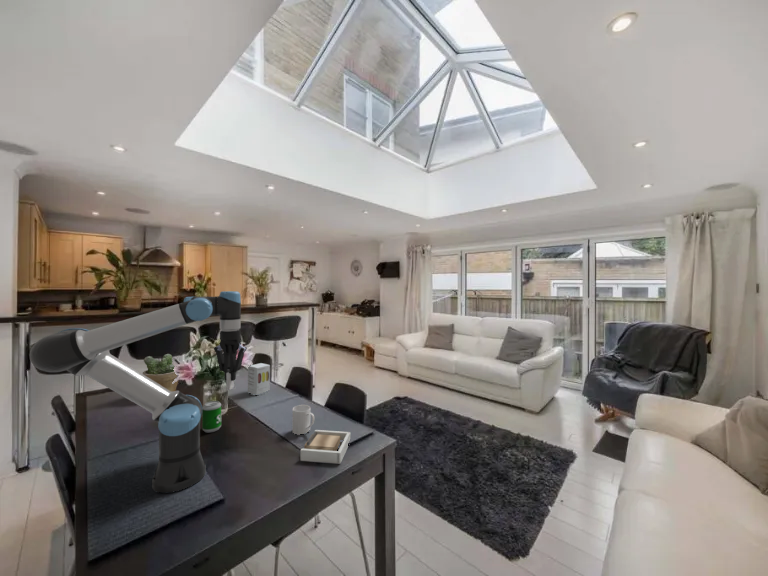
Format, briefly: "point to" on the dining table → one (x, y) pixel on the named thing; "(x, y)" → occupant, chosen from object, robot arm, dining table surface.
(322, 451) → the bay
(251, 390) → the supplement box
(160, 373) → the potted plant
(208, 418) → the soda can
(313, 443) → the trolley
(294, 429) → the mug
